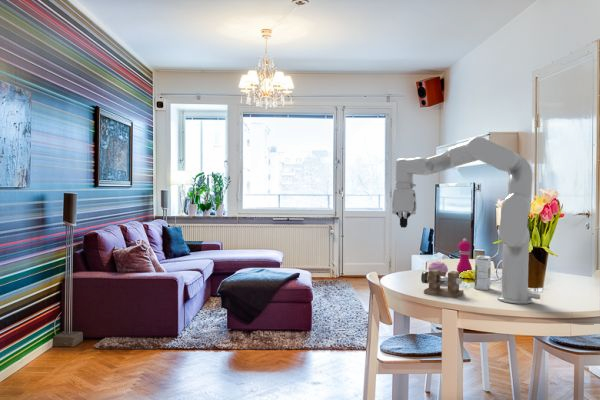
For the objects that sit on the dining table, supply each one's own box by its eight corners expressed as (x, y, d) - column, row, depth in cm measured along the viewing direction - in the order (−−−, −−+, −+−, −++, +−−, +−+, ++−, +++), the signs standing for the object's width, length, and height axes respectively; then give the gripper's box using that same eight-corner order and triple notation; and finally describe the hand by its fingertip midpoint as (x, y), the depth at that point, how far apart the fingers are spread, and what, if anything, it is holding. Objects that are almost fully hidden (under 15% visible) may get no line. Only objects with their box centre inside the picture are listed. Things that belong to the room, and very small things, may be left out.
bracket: (463, 293, 200) (463, 271, 200) (457, 297, 193) (457, 274, 192) (430, 289, 208) (431, 268, 208) (423, 293, 200) (424, 271, 200)
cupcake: (424, 282, 226) (425, 261, 226) (434, 279, 232) (434, 259, 232) (441, 284, 220) (442, 263, 219) (451, 282, 226) (451, 261, 225)
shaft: (462, 286, 198) (462, 274, 198) (459, 288, 194) (459, 276, 194) (425, 282, 207) (425, 270, 207) (421, 283, 203) (421, 272, 203)
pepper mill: (472, 279, 234) (473, 239, 234) (457, 278, 236) (458, 238, 235) (470, 276, 241) (471, 237, 241) (455, 276, 243) (456, 237, 242)
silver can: (476, 286, 216) (477, 255, 215) (490, 288, 213) (491, 256, 212) (474, 289, 211) (474, 256, 210) (488, 290, 208) (488, 257, 207)
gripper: (423, 186, 211) (422, 227, 211) (391, 186, 219) (391, 226, 219) (417, 186, 204) (416, 228, 205) (385, 186, 213) (384, 227, 213)
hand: (403, 227), depth 212 cm, fingers closed
